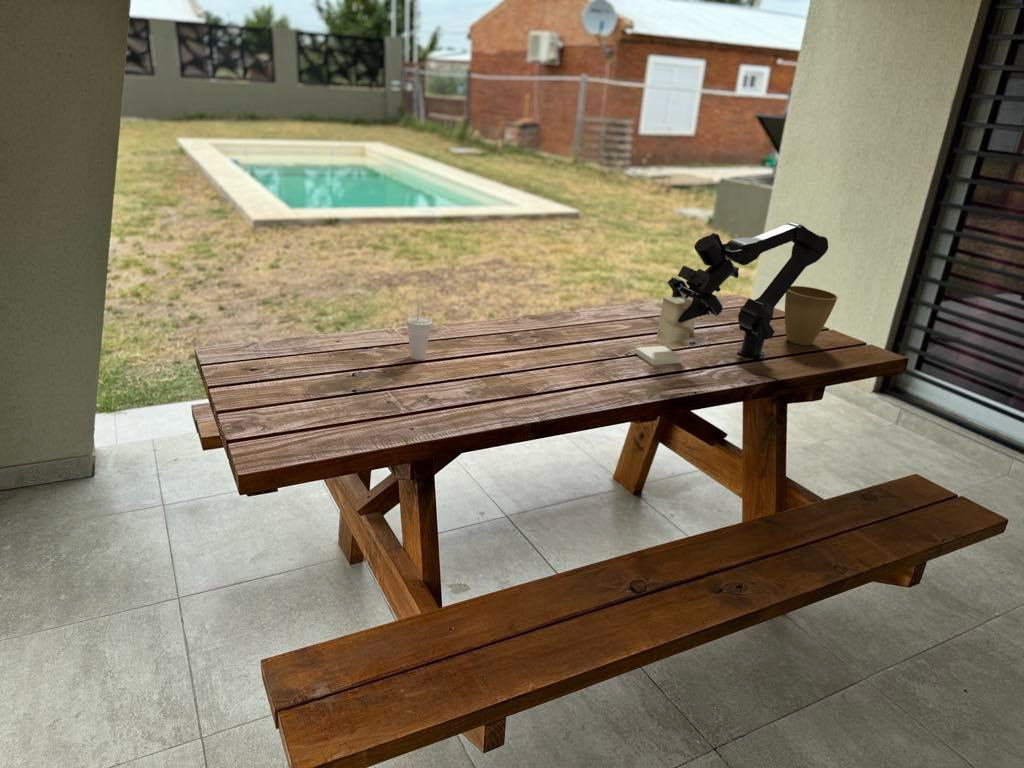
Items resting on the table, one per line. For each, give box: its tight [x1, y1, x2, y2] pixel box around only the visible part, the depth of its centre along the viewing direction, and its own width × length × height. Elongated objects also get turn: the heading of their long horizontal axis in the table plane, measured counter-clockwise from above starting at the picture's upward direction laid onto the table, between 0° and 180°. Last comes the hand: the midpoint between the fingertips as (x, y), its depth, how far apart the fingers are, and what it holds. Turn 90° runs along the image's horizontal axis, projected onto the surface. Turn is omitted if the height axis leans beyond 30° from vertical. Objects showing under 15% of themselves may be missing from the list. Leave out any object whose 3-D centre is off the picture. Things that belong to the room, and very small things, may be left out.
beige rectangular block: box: [656, 296, 692, 348], centre depth 199 cm, size 6×6×12 cm
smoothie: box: [406, 302, 433, 361], centre depth 185 cm, size 6×6×14 cm
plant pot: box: [784, 285, 838, 346], centre depth 228 cm, size 15×15×16 cm
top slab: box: [634, 345, 683, 366], centre depth 201 cm, size 9×9×2 cm
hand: (672, 317), depth 198 cm, fingers closed on beige rectangular block, 6 cm apart
